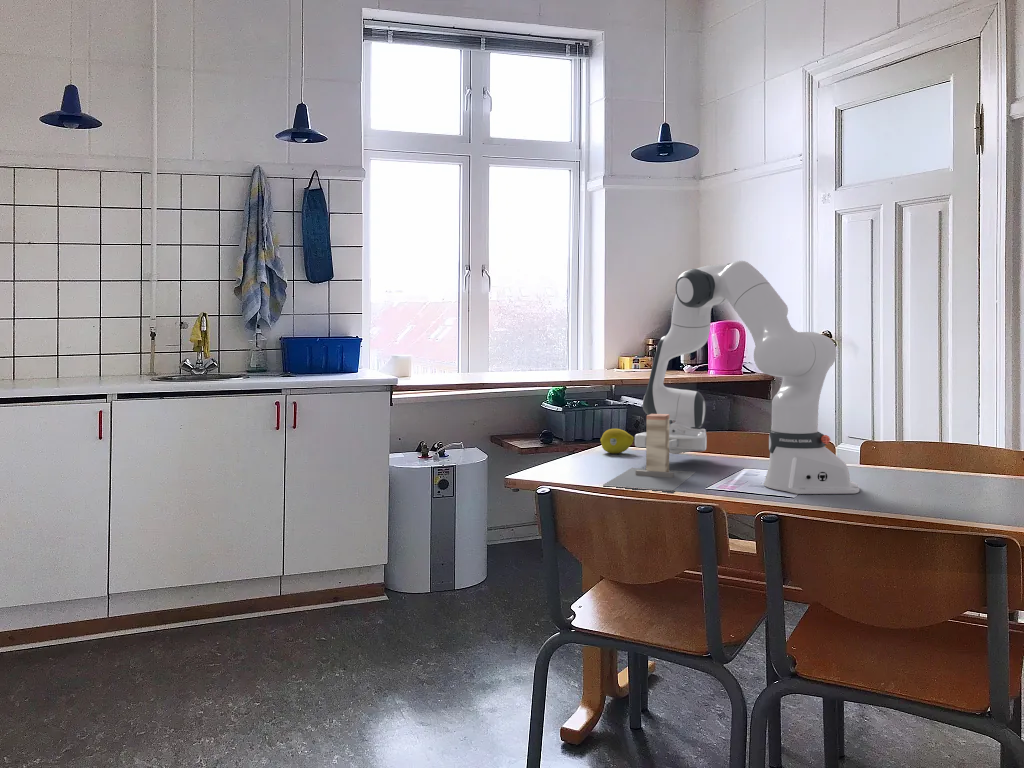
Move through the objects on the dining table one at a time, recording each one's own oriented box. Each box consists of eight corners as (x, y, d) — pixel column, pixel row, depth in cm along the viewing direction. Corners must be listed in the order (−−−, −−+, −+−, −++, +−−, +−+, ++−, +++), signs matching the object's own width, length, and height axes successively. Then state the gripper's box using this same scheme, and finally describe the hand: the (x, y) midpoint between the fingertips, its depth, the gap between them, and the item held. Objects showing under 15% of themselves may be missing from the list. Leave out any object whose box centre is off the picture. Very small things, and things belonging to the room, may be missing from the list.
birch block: (651, 471, 228) (651, 413, 226) (669, 472, 226) (669, 414, 224) (646, 474, 223) (646, 415, 222) (664, 476, 221) (664, 416, 220)
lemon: (595, 453, 263) (595, 428, 263) (606, 450, 270) (606, 426, 269) (626, 456, 257) (626, 431, 256) (637, 453, 264) (637, 428, 263)
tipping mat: (632, 470, 234) (632, 463, 234) (696, 474, 227) (696, 467, 226) (603, 487, 211) (603, 480, 210) (673, 493, 203) (673, 485, 203)
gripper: (641, 426, 246) (627, 431, 234) (711, 429, 238) (700, 435, 225) (641, 447, 247) (627, 454, 234) (710, 450, 238) (700, 458, 225)
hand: (664, 444), depth 229 cm, fingers closed
